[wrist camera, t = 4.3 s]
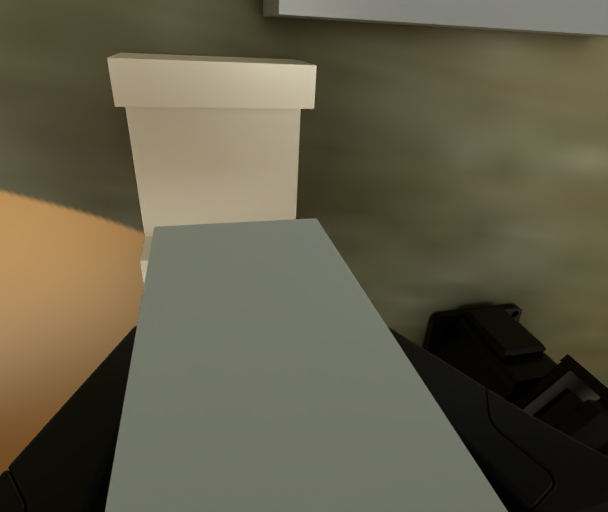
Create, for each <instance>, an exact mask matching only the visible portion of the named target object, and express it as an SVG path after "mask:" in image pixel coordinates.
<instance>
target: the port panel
mask: <svg viewBox="0 0 608 512" xmlns="http://www.w3.org/2000/svg"><path fill="white" fill-rule="evenodd" d="M263 16H267V17H283V18H299V19H315V20H332V21H348V22H364V23H380V24H396V25H412V26H429V27H445V28H461V29H477V30H493V31H509V32H525V33H542V34H558V35H574V36H590V37H608V0H263Z"/></svg>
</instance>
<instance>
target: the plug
mask: <svg viewBox="0 0 608 512" xmlns="http://www.w3.org/2000/svg"><path fill="white" fill-rule="evenodd" d="M105 512H508V511H507V509H506V508H505V506H504V505H503V503H502V502H501V500H500V499H499V497H498V496H497V494H496V493H495V491H494V489H493V488H492V486H491V485H490V483H489V482H488V480H487V479H486V477H485V476H484V474H483V473H482V471H481V470H480V468H479V466H478V465H477V463H476V462H475V460H474V459H473V457H472V456H471V454H470V453H469V451H468V450H467V448H466V447H465V445H464V443H463V442H462V440H461V439H460V437H459V436H458V434H457V433H456V431H455V430H454V428H453V427H452V425H451V424H450V422H449V421H448V419H447V417H446V416H445V414H444V413H443V411H442V410H441V408H440V407H439V405H438V404H437V402H436V401H435V399H434V398H433V396H432V394H431V393H430V391H429V390H428V388H427V387H426V385H425V384H424V382H423V381H422V379H421V378H420V376H419V375H418V373H417V371H416V370H415V368H414V367H413V365H412V364H411V362H410V361H409V359H408V358H407V356H406V355H405V353H404V352H403V350H402V349H401V347H400V345H399V344H398V342H397V341H396V339H395V338H394V336H393V335H392V333H391V332H390V330H389V329H388V327H387V326H386V324H385V322H384V321H383V319H382V318H381V316H380V315H379V313H378V312H377V310H376V309H375V307H374V306H373V304H372V303H371V301H370V299H369V298H368V296H367V295H366V293H365V292H364V290H363V289H362V287H361V286H360V284H359V283H358V281H357V280H356V278H355V276H354V275H353V273H352V272H351V270H350V269H349V267H348V266H347V264H346V263H345V261H344V260H343V258H342V257H341V255H340V254H339V252H338V250H337V249H336V247H335V246H334V244H333V243H332V241H331V240H330V238H329V237H328V235H327V234H326V232H325V231H324V229H323V227H322V226H321V224H320V223H319V221H318V220H317V218H311V219H292V220H273V221H254V222H235V223H216V224H197V225H178V226H158V227H154V231H153V237H152V243H151V248H150V254H149V260H148V266H147V272H146V277H145V283H144V290H143V295H142V300H141V306H140V312H139V318H138V323H137V329H136V335H135V341H134V347H133V352H132V358H131V364H130V370H129V375H128V381H127V387H126V393H125V399H124V404H123V410H122V416H121V422H120V427H119V433H118V439H117V445H116V451H115V456H114V462H113V468H112V474H111V479H110V485H109V491H108V497H107V502H106V508H105Z"/></svg>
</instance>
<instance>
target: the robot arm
mask: <svg viewBox="0 0 608 512" xmlns="http://www.w3.org/2000/svg"><path fill="white" fill-rule="evenodd" d="M521 313H522V310H521V309H520V308H519V307H518V306H517V305H505V306H496V307H487V308H478V309H470V310H461V311H452V312H443V313H437V314H435V315H433V317H432V318H431V320H430V324H429V328H428V332H427V336H426V341H425V345H424V349H423V348H421V347H420V346H418V345H417V344H415V343H413V342H412V341H410V340H408V339H407V338H405V337H404V336H402V335H400V334H399V333H397V332H396V331H394V330H392V329H391V328H389V327H388V326H387V327H388V329H389V330H390V332H391V333H392V335H393V336H394V338H395V339H396V341H397V342H398V344H399V345H400V347H401V349H402V350H403V352H404V353H405V355H406V356H407V358H408V359H409V361H410V362H411V364H412V365H413V367H414V368H415V370H416V371H417V373H418V375H419V376H420V378H421V379H422V381H423V382H424V384H425V385H426V387H427V388H428V390H429V391H430V393H431V394H432V396H433V398H434V399H435V401H436V402H437V404H438V405H439V407H440V408H441V410H442V411H443V413H444V414H445V416H446V417H447V419H448V421H449V422H450V424H451V425H452V427H453V428H454V430H455V431H456V433H457V434H458V436H459V437H460V439H461V440H462V442H463V443H464V445H465V447H466V448H467V450H468V451H469V453H470V454H471V456H472V457H473V459H474V460H475V462H476V463H477V465H478V466H479V468H480V470H481V471H482V473H483V474H484V476H485V477H486V479H487V480H488V482H489V483H490V485H491V486H492V488H493V489H494V491H495V493H496V494H497V496H498V497H499V499H500V500H501V502H502V503H503V505H504V506H505V508H506V509H507V511H508V512H608V388H607V387H605V386H604V385H603V384H602V383H601V382H600V381H598V380H597V379H596V378H595V377H594V376H593V375H591V374H590V373H589V372H588V371H587V370H586V369H584V368H583V367H582V366H581V365H580V364H579V363H578V362H576V361H575V360H574V359H573V358H572V357H571V356H569V355H568V354H567V355H566V356H565V357H564V358H562V359H561V360H560V361H561V363H559V364H558V365H557V364H556V363H555V362H554V361H553V360H552V359H551V358H550V357H549V356H548V355H547V354H546V353H545V350H546V348H545V347H544V345H543V344H542V343H541V342H540V341H538V340H537V339H536V338H535V337H534V336H533V335H532V334H531V333H530V332H529V331H527V330H526V329H525V328H524V327H523V326H522V325H521V324H520V323H519V322H518V321H519V319H520V316H521ZM438 321H439V322H438ZM136 329H137V326H135V327H134V328H133V329H132V330H131V331H130V332H129V333H128V334H127V336H125V338H124V339H123V340H122V341H121V342H120V343H119V344H118V346H116V348H115V349H114V350H113V351H112V352H111V353H110V354H109V355H108V356H107V358H106V359H105V360H104V361H103V362H102V363H101V364H100V365H99V366H98V368H97V369H96V370H95V371H94V372H93V373H92V374H91V375H90V377H89V378H88V379H87V380H86V381H85V382H84V383H83V384H82V385H81V386H80V388H79V389H78V390H77V391H76V392H75V393H74V394H73V395H72V396H71V398H70V399H69V400H68V401H67V402H66V403H65V404H64V405H63V406H62V407H61V409H60V410H59V411H58V412H57V413H56V414H55V415H54V416H53V417H52V419H51V420H50V421H49V422H48V423H47V424H46V425H45V426H44V427H43V429H42V430H41V431H40V432H39V433H38V434H37V435H36V437H34V439H33V440H32V441H31V442H30V443H29V444H28V445H27V446H26V447H25V449H24V450H23V451H22V452H21V453H20V454H19V456H17V457H16V459H15V460H14V461H13V462H12V463H11V464H10V465H9V467H8V469H9V471H10V472H9V471H8V470H6V471H4V472H3V473H2V474H1V475H0V512H105V508H106V502H107V497H108V491H109V485H110V479H111V474H112V468H113V462H114V456H115V451H116V445H117V439H118V433H119V427H120V422H121V416H122V410H123V404H124V399H125V393H126V387H127V381H128V375H129V370H130V364H131V358H132V352H133V347H134V341H135V335H136Z"/></svg>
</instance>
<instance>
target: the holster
mask: <svg viewBox="0 0 608 512" xmlns="http://www.w3.org/2000/svg"><path fill="white" fill-rule="evenodd" d="M107 61H108V67H109V73H110V80H111V86H112V92H113V98H114V104H115V107H125V108H126V115H127V122H128V128H129V135H130V141H131V148H132V155H133V161H134V168H135V175H136V181H137V188H138V195H139V201H140V208H141V214H142V221H143V228H144V234H145V240H144V244H143V249H142V253H141V258H140V265H141V271H142V277H143V283H145V277H146V272H147V266H148V260H149V254H150V248H151V243H152V237H153V231H154V227H158V226H178V225H197V224H216V223H235V222H254V221H273V220H292V219H296V206H297V182H298V158H299V135H300V111H301V109H314V103H315V85H316V68H317V65H314V64H311V63H308V62H305V61H301V60H298V59H273V58H248V57H222V56H196V55H170V54H145V53H118V54H115V55H113V56H110V57H108V58H107Z"/></svg>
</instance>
